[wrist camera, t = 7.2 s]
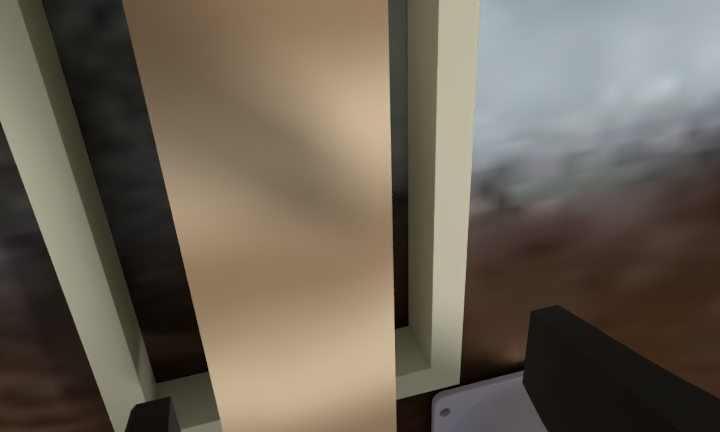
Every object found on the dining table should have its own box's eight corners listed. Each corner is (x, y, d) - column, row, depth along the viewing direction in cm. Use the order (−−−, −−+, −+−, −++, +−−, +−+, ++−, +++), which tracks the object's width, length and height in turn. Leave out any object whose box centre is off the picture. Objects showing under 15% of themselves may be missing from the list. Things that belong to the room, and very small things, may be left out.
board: (361, 351, 23) (396, 437, 19) (222, 383, 21) (234, 480, 18) (336, -71, 15) (386, -48, 12) (125, -53, 14) (116, -24, 11)
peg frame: (435, 341, 26) (459, 383, 24) (130, 413, 24) (127, 467, 22) (448, -172, 17) (489, -175, 15) (-61, -147, 14) (-98, -146, 12)
